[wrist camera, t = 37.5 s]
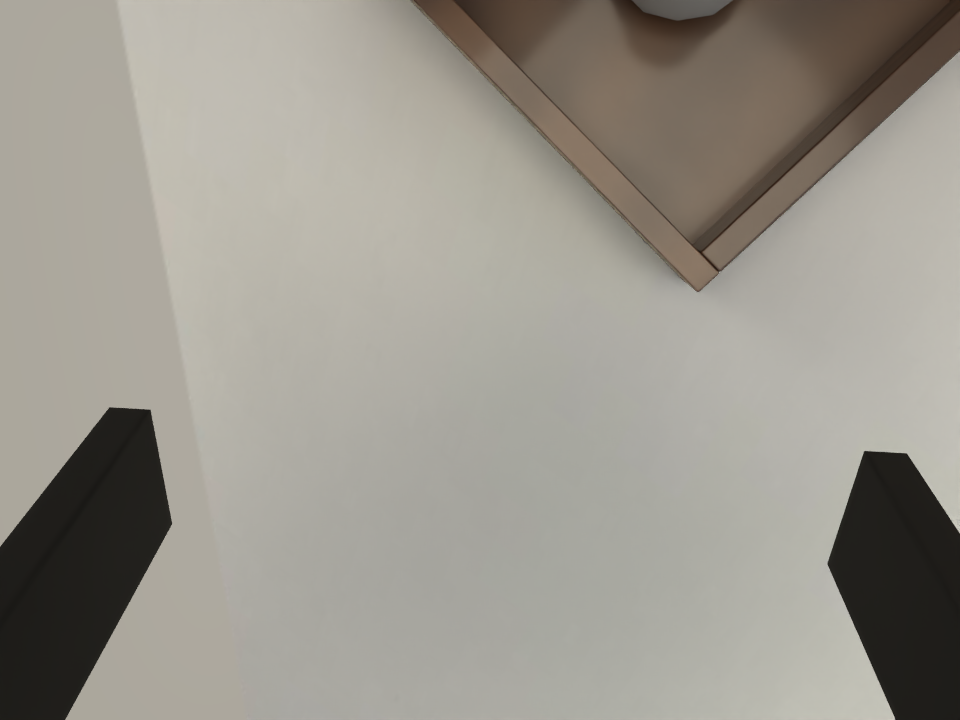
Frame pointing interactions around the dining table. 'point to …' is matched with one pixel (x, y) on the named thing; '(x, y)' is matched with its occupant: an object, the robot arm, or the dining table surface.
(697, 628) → the dining table surface
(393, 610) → the dining table surface
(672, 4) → the salt shaker
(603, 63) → the wooden box
